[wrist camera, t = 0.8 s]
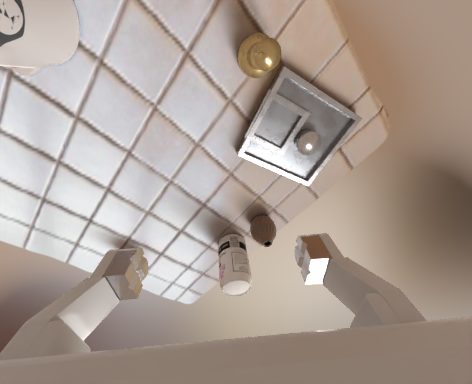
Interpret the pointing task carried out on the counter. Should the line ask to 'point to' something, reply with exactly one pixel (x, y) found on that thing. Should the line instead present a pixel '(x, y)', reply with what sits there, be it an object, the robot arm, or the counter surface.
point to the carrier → (296, 128)
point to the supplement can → (234, 265)
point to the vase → (263, 230)
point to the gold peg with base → (258, 55)
